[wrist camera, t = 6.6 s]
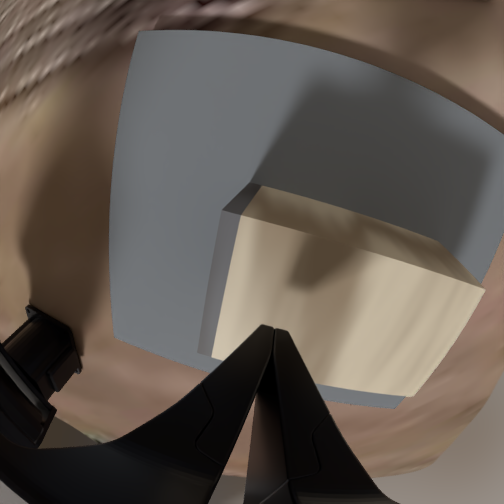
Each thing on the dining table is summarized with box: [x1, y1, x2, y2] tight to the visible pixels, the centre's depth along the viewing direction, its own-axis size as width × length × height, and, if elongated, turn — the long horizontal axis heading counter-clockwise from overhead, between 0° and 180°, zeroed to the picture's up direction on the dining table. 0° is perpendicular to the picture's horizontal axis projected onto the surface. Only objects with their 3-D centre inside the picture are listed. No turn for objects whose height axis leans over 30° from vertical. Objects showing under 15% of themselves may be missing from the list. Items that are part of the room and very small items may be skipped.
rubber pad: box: [109, 30, 504, 409], centre depth 15 cm, size 22×20×1 cm
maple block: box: [197, 182, 486, 397], centre depth 12 cm, size 5×6×10 cm
